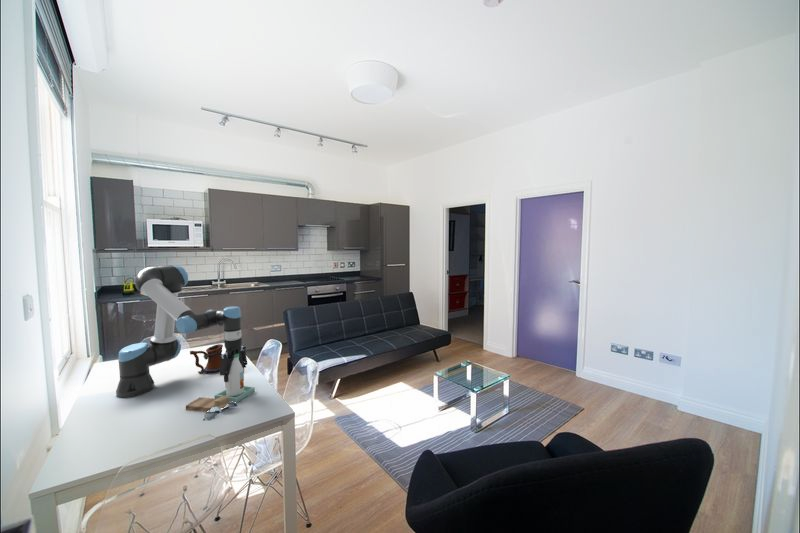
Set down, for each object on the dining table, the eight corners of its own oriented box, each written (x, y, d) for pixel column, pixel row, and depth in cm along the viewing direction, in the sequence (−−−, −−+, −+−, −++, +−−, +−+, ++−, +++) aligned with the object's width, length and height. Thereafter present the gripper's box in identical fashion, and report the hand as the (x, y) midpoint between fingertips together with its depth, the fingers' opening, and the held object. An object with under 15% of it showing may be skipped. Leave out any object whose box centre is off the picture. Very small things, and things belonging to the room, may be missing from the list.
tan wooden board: (185, 410, 143) (185, 405, 143) (200, 402, 151) (199, 397, 151) (213, 413, 141) (212, 408, 141) (225, 404, 149) (225, 399, 149)
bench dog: (214, 411, 142) (214, 400, 142) (223, 406, 147) (223, 395, 146) (220, 412, 141) (219, 401, 141) (229, 406, 146) (228, 396, 146)
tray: (214, 400, 152) (214, 395, 152) (234, 389, 164) (234, 384, 164) (235, 403, 149) (235, 398, 149) (254, 392, 161) (254, 387, 161)
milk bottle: (236, 397, 152) (235, 356, 151) (222, 396, 153) (221, 355, 152) (247, 390, 159) (246, 351, 158) (233, 389, 161) (232, 350, 160)
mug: (192, 378, 177) (190, 352, 176) (189, 372, 186) (188, 347, 185) (228, 370, 189) (227, 346, 188) (224, 365, 197) (223, 341, 197)
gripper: (222, 345, 144) (224, 394, 145) (254, 333, 163) (255, 376, 165) (209, 344, 146) (211, 392, 147) (242, 332, 165) (244, 375, 167)
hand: (234, 384), depth 156 cm, fingers closed on milk bottle, 8 cm apart
